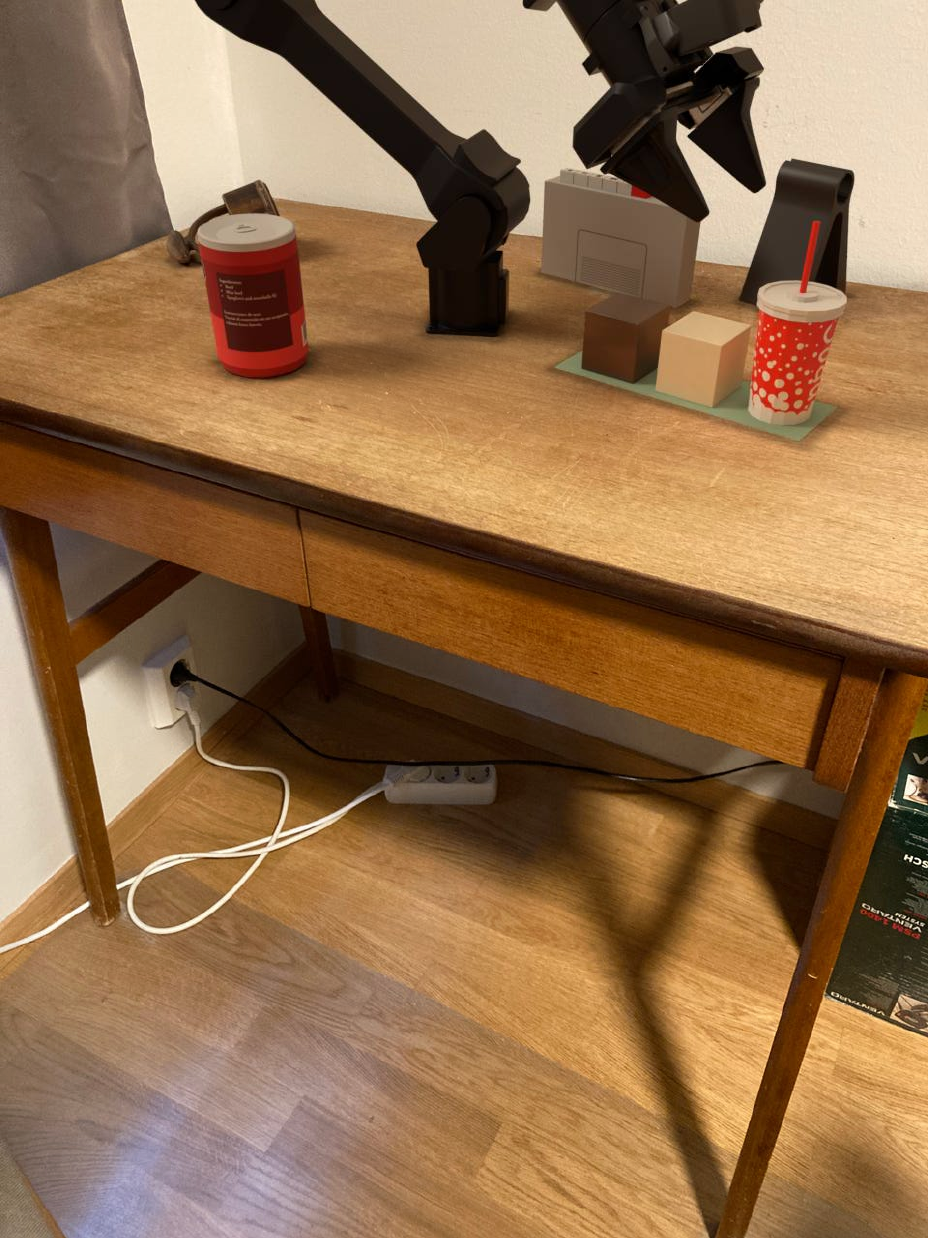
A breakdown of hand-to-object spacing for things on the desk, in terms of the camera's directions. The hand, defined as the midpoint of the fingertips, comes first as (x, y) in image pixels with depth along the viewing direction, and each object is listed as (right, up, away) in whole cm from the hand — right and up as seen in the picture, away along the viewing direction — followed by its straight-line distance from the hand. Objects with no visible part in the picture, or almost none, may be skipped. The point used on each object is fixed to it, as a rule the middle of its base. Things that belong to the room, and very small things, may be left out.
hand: (733, 203), depth 74 cm
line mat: (-2, -12, +6) cm, 14 cm away
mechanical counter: (-45, +9, +34) cm, 57 cm away
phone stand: (+11, 0, +22) cm, 25 cm away
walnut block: (-7, -10, +9) cm, 15 cm away
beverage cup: (+4, -15, +3) cm, 16 cm away
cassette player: (-5, +2, +25) cm, 25 cm away
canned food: (-37, -9, +12) cm, 40 cm away
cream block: (-1, -12, +6) cm, 14 cm away
